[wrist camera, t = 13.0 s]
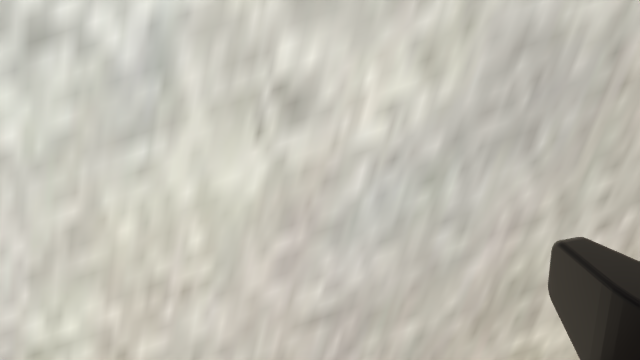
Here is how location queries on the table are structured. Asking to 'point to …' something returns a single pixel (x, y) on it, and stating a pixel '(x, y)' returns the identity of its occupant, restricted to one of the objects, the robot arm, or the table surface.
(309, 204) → the table surface
